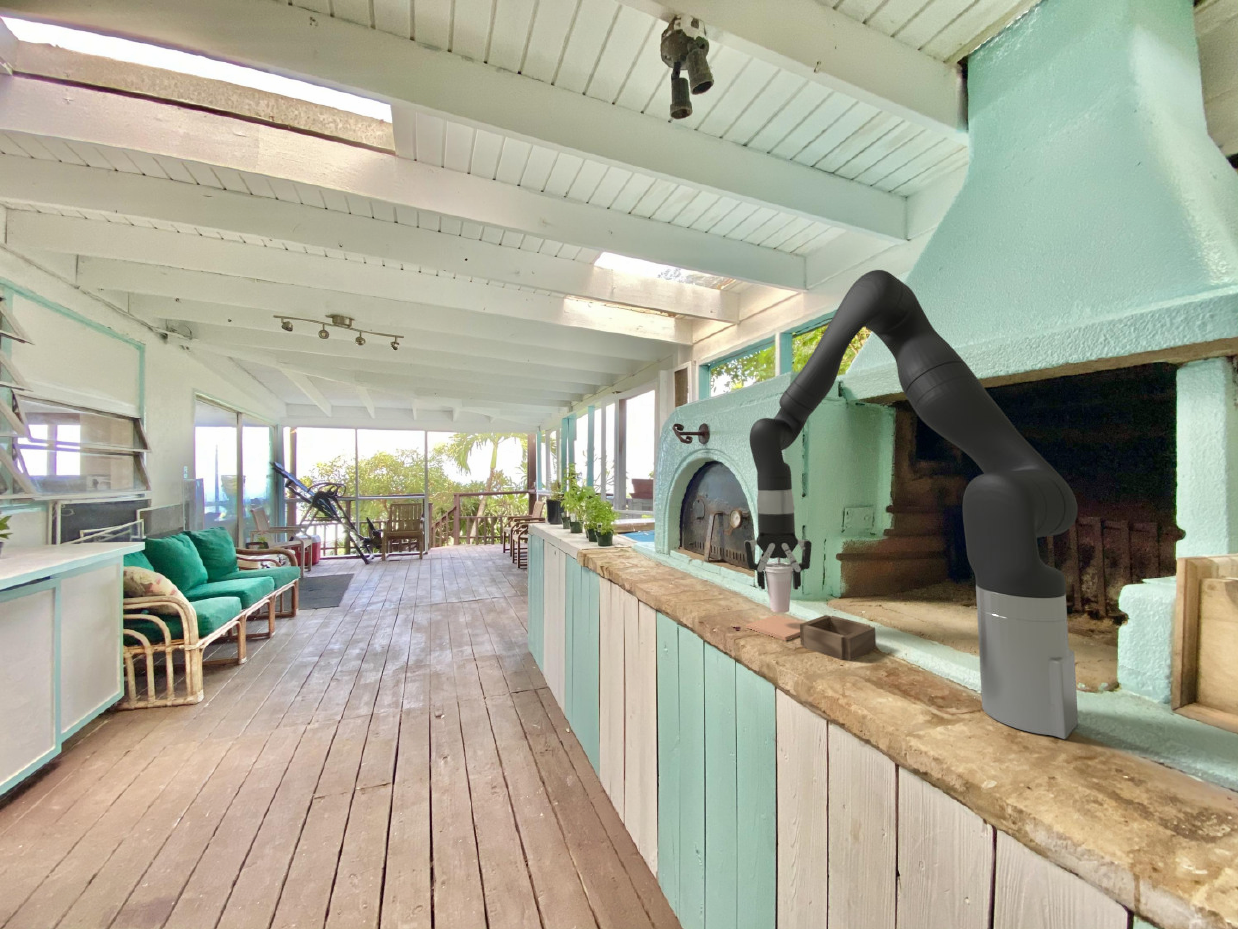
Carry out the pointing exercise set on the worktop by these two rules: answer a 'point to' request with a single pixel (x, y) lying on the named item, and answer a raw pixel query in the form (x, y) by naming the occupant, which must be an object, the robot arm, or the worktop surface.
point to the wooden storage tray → (838, 637)
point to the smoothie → (779, 585)
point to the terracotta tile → (777, 627)
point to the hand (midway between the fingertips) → (778, 588)
